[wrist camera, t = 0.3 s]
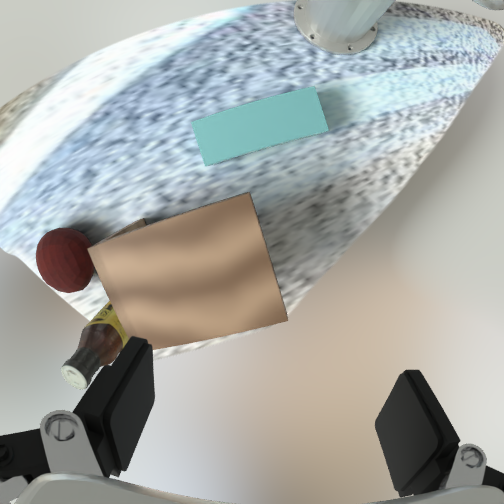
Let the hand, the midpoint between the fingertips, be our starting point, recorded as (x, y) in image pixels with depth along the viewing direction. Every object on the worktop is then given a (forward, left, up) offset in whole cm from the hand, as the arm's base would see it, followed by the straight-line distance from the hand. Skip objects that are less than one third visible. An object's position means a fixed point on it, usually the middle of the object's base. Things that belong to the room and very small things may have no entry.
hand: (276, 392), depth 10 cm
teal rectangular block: (-12, +2, -35) cm, 37 cm away
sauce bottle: (+8, -27, -35) cm, 45 cm away
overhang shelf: (+2, -10, -35) cm, 37 cm away
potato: (-4, -33, -35) cm, 48 cm away
